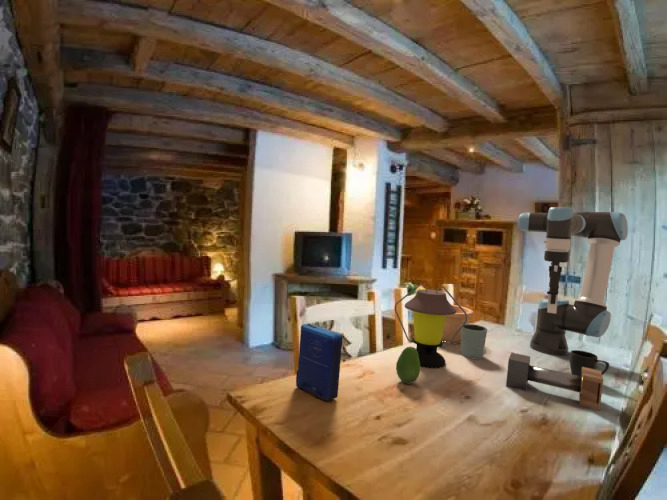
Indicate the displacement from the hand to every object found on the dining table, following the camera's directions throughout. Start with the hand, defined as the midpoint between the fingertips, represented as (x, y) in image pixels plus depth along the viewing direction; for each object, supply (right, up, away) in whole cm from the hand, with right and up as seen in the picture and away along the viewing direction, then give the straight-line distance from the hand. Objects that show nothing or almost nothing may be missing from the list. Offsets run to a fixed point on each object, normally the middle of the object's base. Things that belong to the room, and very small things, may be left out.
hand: (551, 309), depth 138 cm
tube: (-8, -23, -13) cm, 28 cm away
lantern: (-43, -22, +9) cm, 49 cm away
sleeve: (-16, -25, -8) cm, 30 cm away
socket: (+1, -27, -18) cm, 32 cm away
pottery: (-25, -21, +43) cm, 54 cm away
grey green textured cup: (-22, -23, +20) cm, 37 cm away
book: (-84, -22, -24) cm, 90 cm away
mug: (+13, -26, 0) cm, 29 cm away
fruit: (-55, -23, -12) cm, 60 cm away
